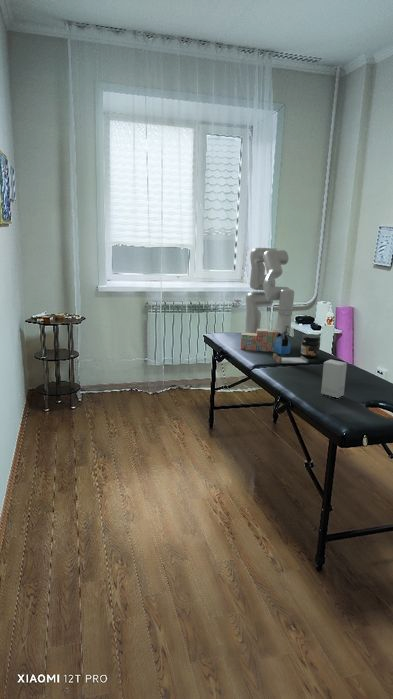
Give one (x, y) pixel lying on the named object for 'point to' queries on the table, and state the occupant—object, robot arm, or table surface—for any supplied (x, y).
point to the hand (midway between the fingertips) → (282, 343)
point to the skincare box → (334, 378)
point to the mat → (294, 360)
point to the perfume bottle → (282, 349)
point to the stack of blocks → (259, 340)
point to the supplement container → (310, 346)
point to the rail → (277, 358)
